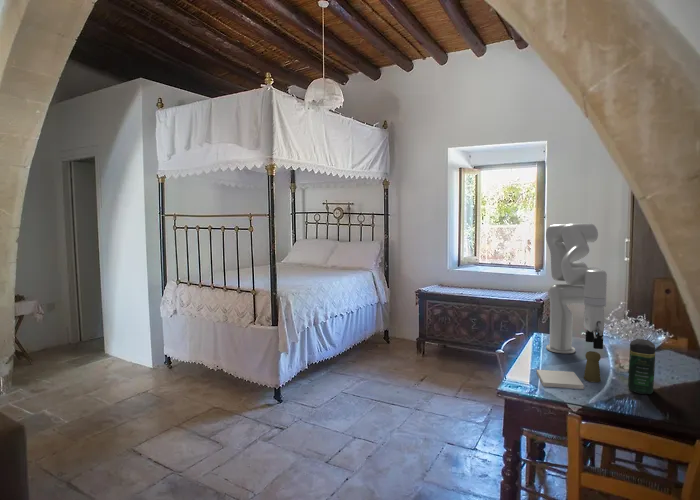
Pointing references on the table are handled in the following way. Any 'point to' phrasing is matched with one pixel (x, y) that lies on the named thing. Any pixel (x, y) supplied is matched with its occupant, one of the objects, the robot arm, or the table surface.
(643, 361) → the coffee jar
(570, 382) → the tile
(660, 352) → the table surface
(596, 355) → the cork
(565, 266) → the robot arm
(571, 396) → the table surface
